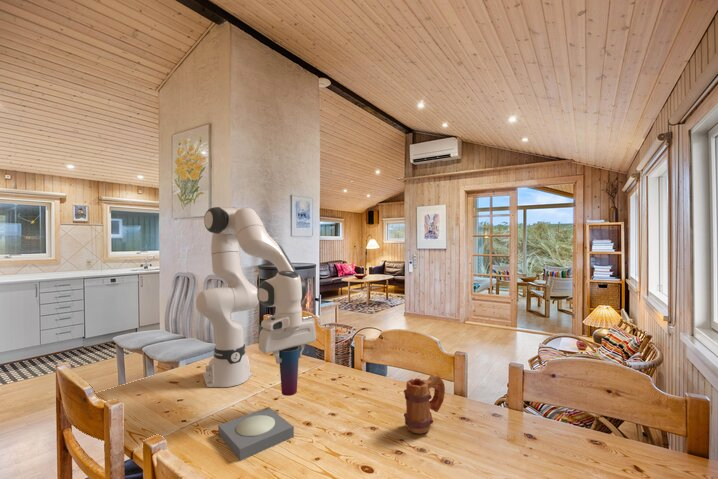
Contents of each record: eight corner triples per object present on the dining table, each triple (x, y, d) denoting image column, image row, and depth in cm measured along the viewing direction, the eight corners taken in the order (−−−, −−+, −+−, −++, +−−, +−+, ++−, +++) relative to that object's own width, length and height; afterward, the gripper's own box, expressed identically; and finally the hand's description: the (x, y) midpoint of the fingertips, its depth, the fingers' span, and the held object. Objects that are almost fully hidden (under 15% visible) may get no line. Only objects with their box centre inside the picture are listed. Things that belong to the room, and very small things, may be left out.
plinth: (218, 435, 101) (218, 424, 101) (268, 416, 111) (268, 406, 111) (240, 460, 89) (240, 448, 89) (293, 436, 99) (293, 425, 99)
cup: (295, 397, 111) (294, 351, 111) (275, 396, 112) (275, 350, 112) (302, 388, 118) (302, 345, 118) (283, 387, 119) (283, 344, 119)
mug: (413, 440, 96) (412, 387, 97) (397, 427, 104) (396, 377, 104) (452, 427, 103) (452, 377, 103) (435, 415, 110) (434, 368, 111)
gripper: (309, 313, 124) (309, 351, 124) (256, 322, 111) (256, 365, 111) (319, 316, 119) (319, 355, 119) (265, 326, 106) (265, 370, 106)
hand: (288, 360), depth 115 cm, fingers closed on cup, 6 cm apart
